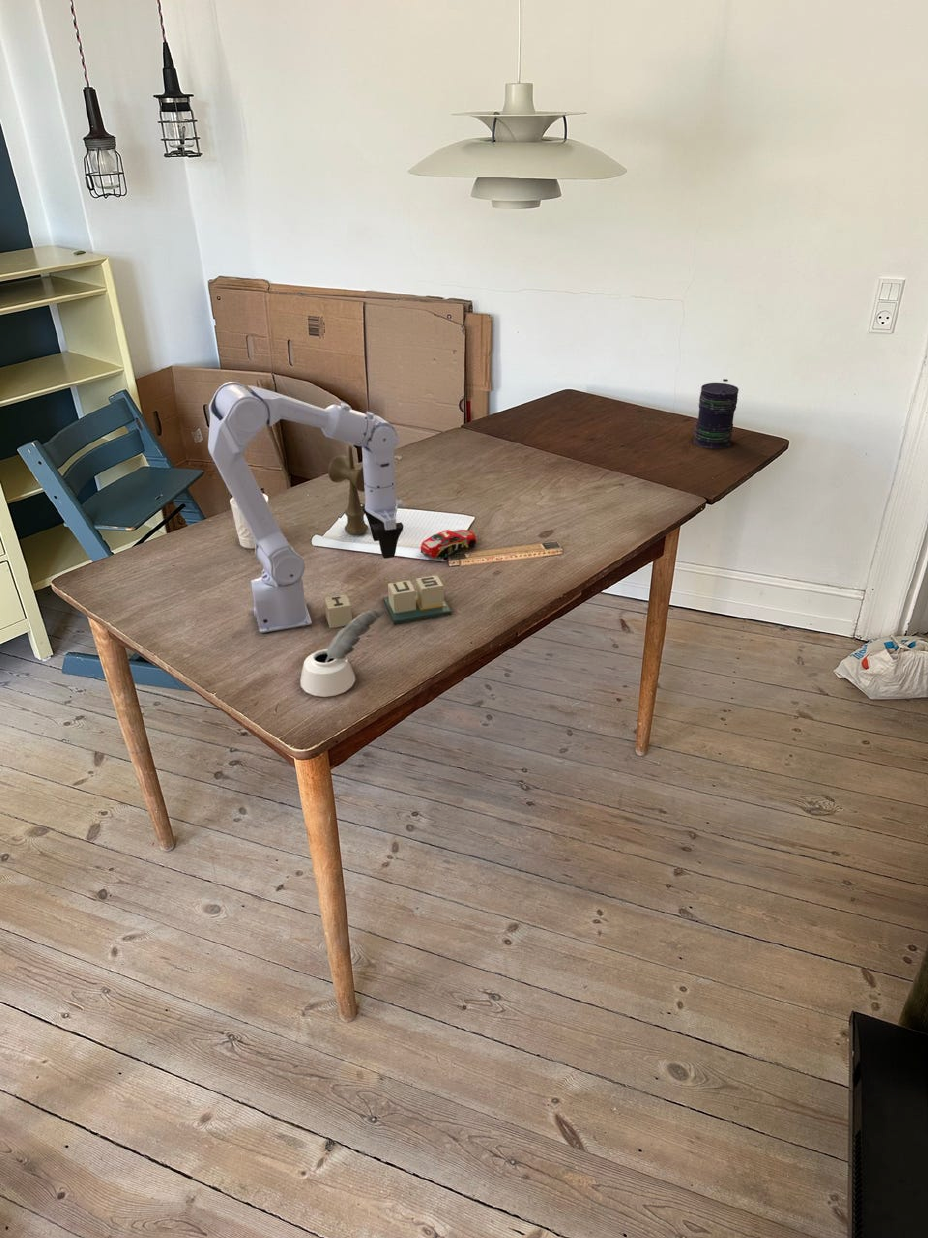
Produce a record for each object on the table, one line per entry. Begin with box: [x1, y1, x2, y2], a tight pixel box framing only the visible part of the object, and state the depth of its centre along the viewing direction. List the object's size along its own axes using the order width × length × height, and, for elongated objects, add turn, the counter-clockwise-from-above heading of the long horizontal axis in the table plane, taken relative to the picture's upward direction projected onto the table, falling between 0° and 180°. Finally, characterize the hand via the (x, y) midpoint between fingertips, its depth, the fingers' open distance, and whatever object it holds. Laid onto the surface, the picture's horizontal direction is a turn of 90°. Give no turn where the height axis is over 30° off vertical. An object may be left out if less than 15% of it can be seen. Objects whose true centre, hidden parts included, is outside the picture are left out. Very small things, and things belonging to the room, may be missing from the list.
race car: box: [420, 529, 477, 559], centre depth 188 cm, size 13×5×4 cm, turn 127°
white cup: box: [229, 492, 270, 549], centre depth 190 cm, size 8×8×10 cm
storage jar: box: [693, 378, 740, 449], centre depth 237 cm, size 10×10×18 cm
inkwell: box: [299, 608, 389, 698], centre depth 148 cm, size 9×18×10 cm, turn 135°
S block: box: [415, 575, 444, 608], centre depth 167 cm, size 4×4×4 cm
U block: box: [387, 580, 416, 614], centre depth 166 cm, size 4×4×4 cm
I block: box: [323, 594, 353, 629], centre depth 163 cm, size 4×4×4 cm
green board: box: [382, 591, 452, 625], centre depth 168 cm, size 11×9×1 cm
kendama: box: [327, 445, 369, 536], centre depth 191 cm, size 6×10×20 cm, turn 47°
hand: (383, 548), depth 169 cm, fingers open, 7 cm apart
